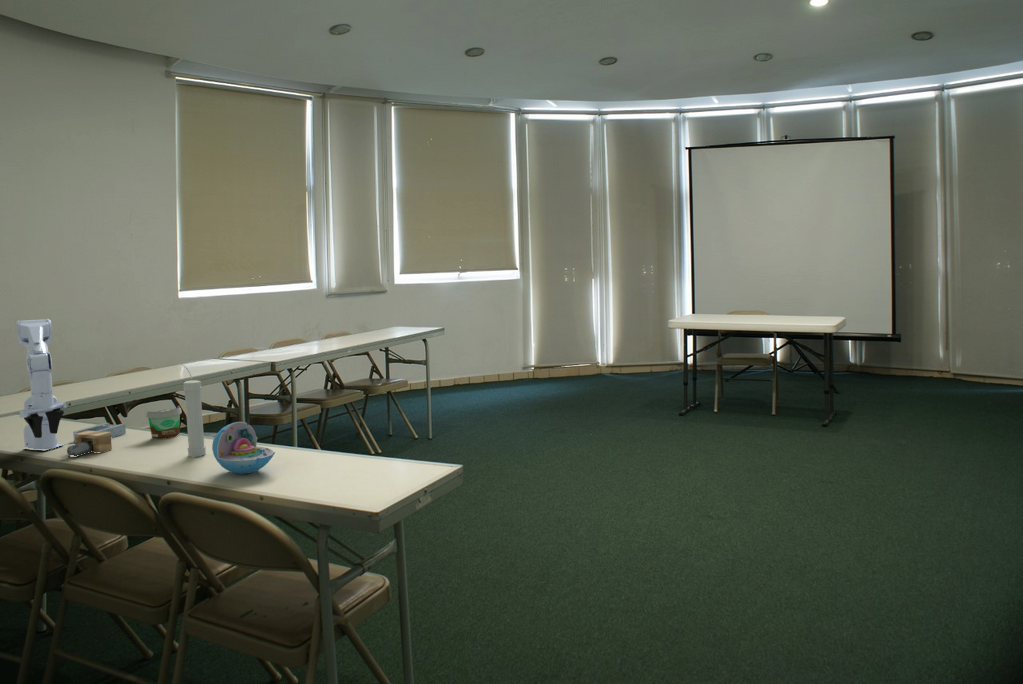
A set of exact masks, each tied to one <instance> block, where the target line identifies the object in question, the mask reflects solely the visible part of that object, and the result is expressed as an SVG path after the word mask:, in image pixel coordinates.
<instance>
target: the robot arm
mask: <svg viewBox="0 0 1023 684" xmlns="http://www.w3.org/2000/svg"><path fill="white" fill-rule="evenodd" d="M15 325H16V326H15V327H16V328H15V329H16V336H17V337H16V338H17V342H18V343H19V346H23V347H25V348H26V357H25V362H26V370H27V373H28V379H29V384H30V385H29V386H30V396H29V397H27V398H25V400H24V401H23V402H24V403H23V404H24V406H23V410H19V418H23V419H24V421H25V423H26V424H25V426H24V428H23V440H24V448H25V447H28V448H33V449H51V448H55V447H58V448H60V447H59V446H62V445H64V446H65V444H63V443H61V444H60V443H58V436H57V433H58V431H59V425H60V422H61V420H62V417H63V415H64V414H65V412H64V411H65V410H64V409H67V402H66V401H59V402H58V398H57V397H56V396H55V395H54V390H53V389H54V388H53V379H52V378H53V377H52V371H53V359H52V356H51V353H50V351H49V348H48V345H49V344H51V342H52V338H53V329H52V328H53V327H52V320H51V319H50V318H45V319H29V320H27V319H26V320H25V319H24V320H19V319H18V320H17V321H16V322H15ZM62 447H63V446H62ZM55 449H56V448H55ZM51 450H52V449H51Z"/></svg>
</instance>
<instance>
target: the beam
mask: <svg viewBox="0 0 1023 684" xmlns="http://www.w3.org/2000/svg"><path fill="white" fill-rule="evenodd" d="M89 440H93V450H94V452H103V453H105V452H104V451H106V452H108V451H107V450H109V451H112V450H113V447H112V438H111V432H101V431H84V432H80V433H76V434H75V441H74V443H75V444H74V445H76V444H79V443H83V442H86V441H89ZM111 449H112V450H111ZM94 452H93V453H94Z"/></svg>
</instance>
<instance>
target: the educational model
mask: <svg viewBox="0 0 1023 684" xmlns="http://www.w3.org/2000/svg"><path fill="white" fill-rule="evenodd" d="M256 435H257V434H256V432H255V430H254V428H253V427H252V426H251V425H250V424H248V423H247V422H245V421H236V422H232V423H230V424H226V426H223V427H222V428H221V429H220V430H219V431H218V432H217V434H216V435H215V436H214V438H213V439H212V440H213V441H212V443H211V444H212V447H211V449H212V454H213V457H214V458H215V460H216V462H217V463H218V464H219V465H220V466H221V467H222V468H223V469H224V470H226V471H228V472H230V473H233V474H239V475H240V474H242V475H244V474H245V473H246V474H251V473H254V472H257V471H259V470H261V469H262V468H264V467H265V466H266V465H267V464H269V462H270V461H271V460H272V459H273V457H274V455H275V454H276V451H274V450H273V449H271V448H269V447H264V446H257V443H258V437H257V436H256Z"/></svg>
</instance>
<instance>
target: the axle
mask: <svg viewBox="0 0 1023 684" xmlns="http://www.w3.org/2000/svg"><path fill="white" fill-rule="evenodd" d="M91 451H94V450H93V440H89V441H86V442H83V443H79V444H76V445H75V444H73V445H69V446H68V447H67V449H66V454H67V456H68V455H74V456H77V455H81V454H84V453H88V452H91ZM91 453H92V452H91ZM88 454H89V453H88ZM81 456H82V455H81Z"/></svg>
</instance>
